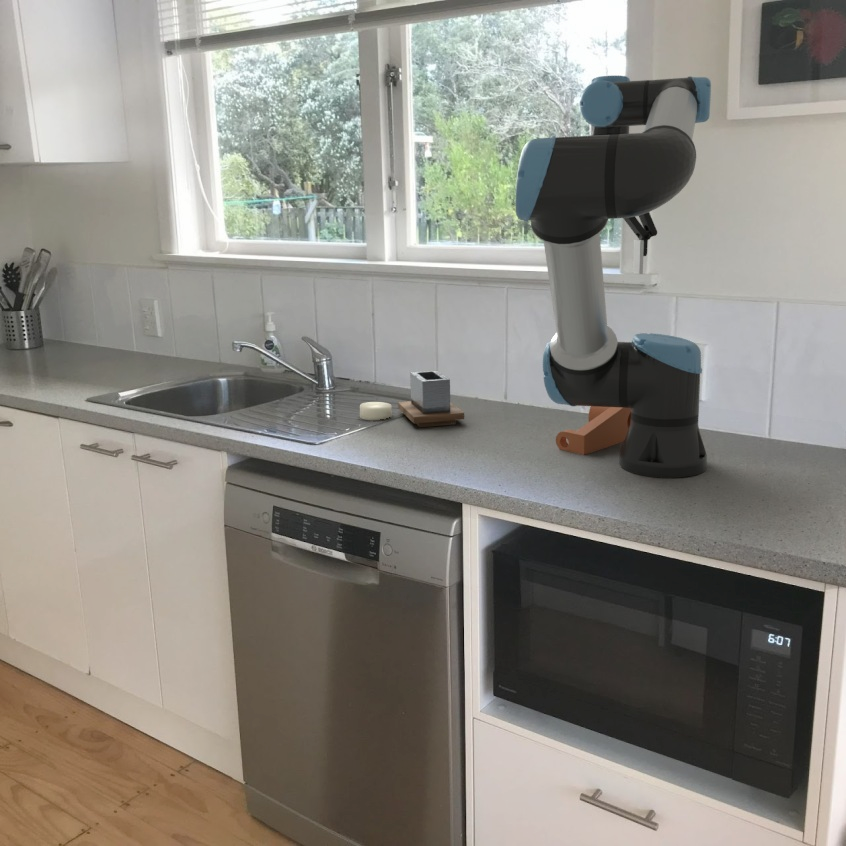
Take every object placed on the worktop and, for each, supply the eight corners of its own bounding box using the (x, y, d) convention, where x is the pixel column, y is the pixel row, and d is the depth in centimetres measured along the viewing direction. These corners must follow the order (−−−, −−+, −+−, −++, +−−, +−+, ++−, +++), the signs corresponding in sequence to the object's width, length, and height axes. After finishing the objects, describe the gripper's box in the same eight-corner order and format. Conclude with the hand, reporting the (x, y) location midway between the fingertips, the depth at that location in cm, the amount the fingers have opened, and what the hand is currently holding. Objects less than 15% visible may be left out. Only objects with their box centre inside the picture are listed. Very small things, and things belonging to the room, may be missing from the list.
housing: (437, 401, 206) (436, 370, 204) (450, 411, 196) (449, 379, 194) (411, 403, 205) (410, 372, 203) (423, 414, 194) (422, 381, 193)
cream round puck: (386, 413, 208) (386, 401, 208) (395, 421, 202) (395, 408, 201) (356, 415, 206) (356, 402, 205) (364, 423, 200) (364, 410, 199)
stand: (464, 426, 195) (464, 412, 194) (414, 430, 193) (413, 417, 192) (445, 411, 209) (445, 398, 209) (398, 415, 207) (397, 402, 206)
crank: (611, 429, 191) (612, 391, 189) (643, 435, 186) (645, 397, 184) (550, 448, 178) (550, 408, 176) (583, 456, 172) (584, 415, 170)
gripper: (658, 162, 182) (654, 270, 187) (540, 164, 176) (539, 276, 181) (677, 160, 175) (673, 273, 180) (554, 163, 169) (553, 279, 174)
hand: (606, 275), depth 181 cm, fingers open, 13 cm apart
